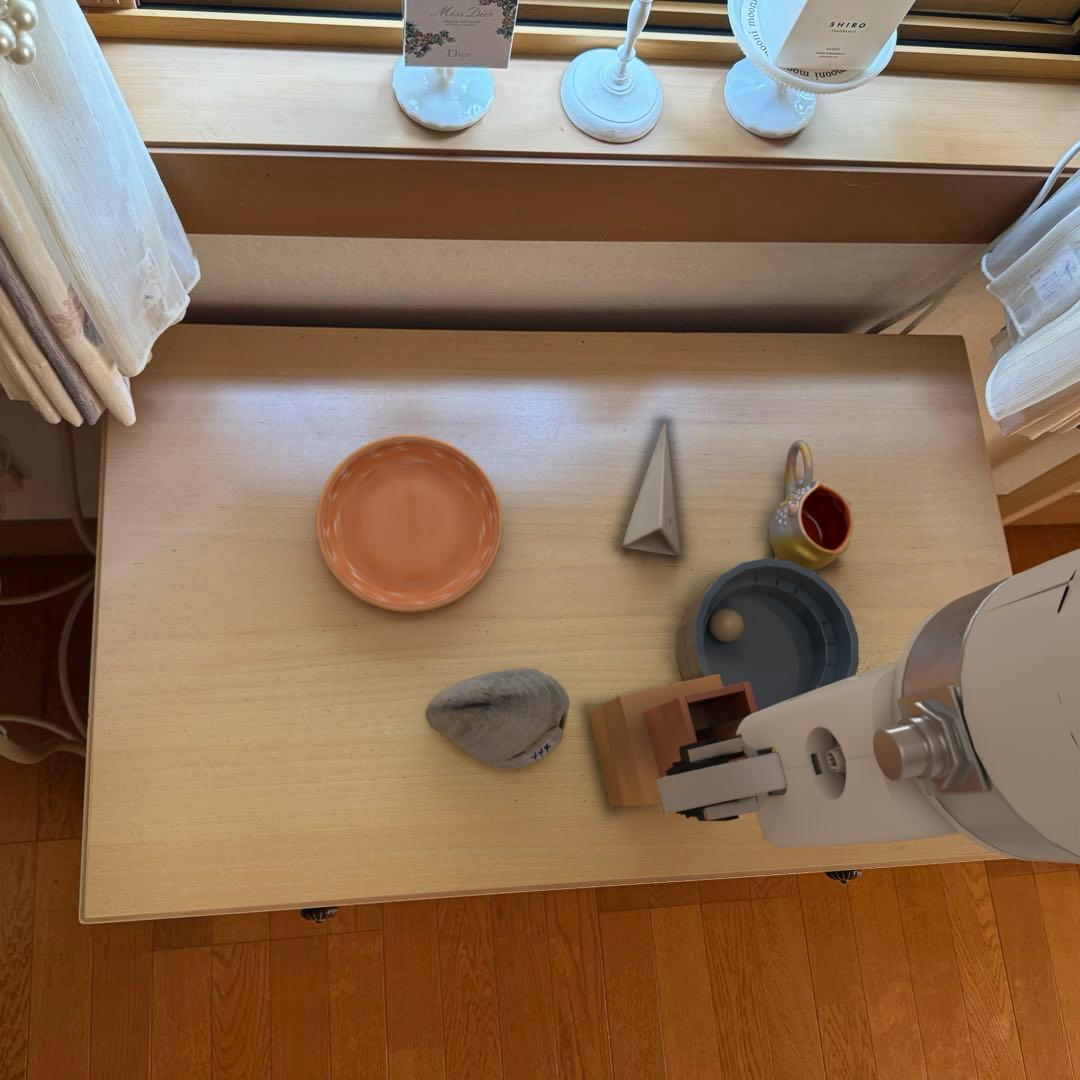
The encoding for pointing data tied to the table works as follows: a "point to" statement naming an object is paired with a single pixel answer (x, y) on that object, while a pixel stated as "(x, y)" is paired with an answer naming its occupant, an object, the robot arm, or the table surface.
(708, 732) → the stick
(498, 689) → the seashell
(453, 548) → the saucer
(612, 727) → the holder
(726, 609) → the bead
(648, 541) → the grey triangular spike
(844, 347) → the table surface
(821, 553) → the mug
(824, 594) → the bowl
